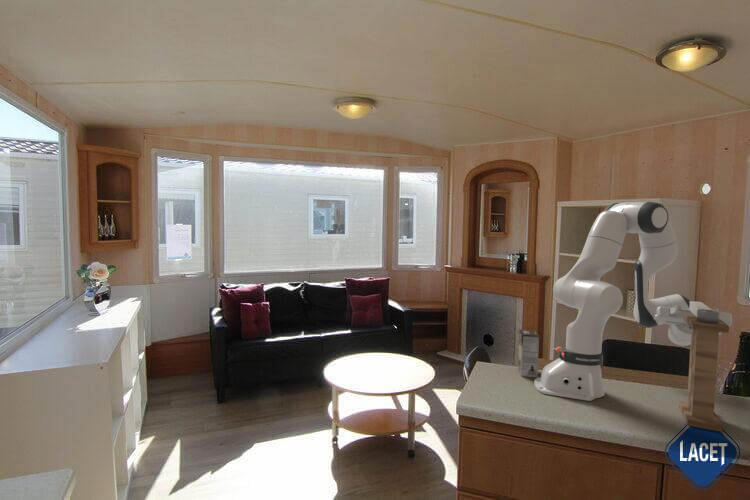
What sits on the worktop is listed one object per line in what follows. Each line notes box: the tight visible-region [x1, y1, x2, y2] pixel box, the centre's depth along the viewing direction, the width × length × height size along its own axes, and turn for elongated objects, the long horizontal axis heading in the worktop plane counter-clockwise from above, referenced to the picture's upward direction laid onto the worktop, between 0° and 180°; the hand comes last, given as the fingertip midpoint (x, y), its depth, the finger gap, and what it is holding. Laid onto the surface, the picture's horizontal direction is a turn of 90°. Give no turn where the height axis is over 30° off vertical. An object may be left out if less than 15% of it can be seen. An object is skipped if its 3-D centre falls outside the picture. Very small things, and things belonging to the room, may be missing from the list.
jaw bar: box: [689, 300, 720, 323], centre depth 130 cm, size 20×5×3 cm, turn 153°
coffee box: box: [517, 328, 540, 378], centre depth 165 cm, size 9×6×16 cm
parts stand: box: [678, 314, 730, 433], centre depth 127 cm, size 14×8×30 cm, turn 153°
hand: (697, 309), depth 136 cm, fingers open, 8 cm apart
